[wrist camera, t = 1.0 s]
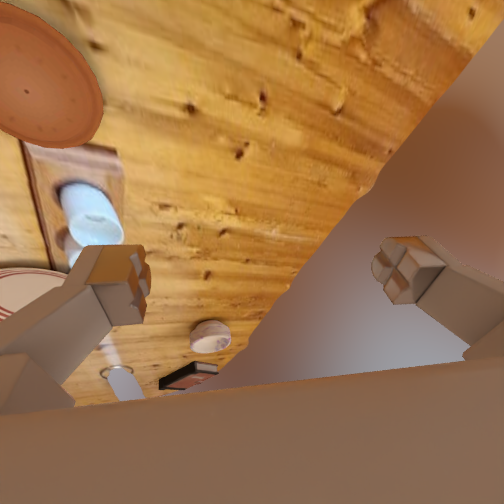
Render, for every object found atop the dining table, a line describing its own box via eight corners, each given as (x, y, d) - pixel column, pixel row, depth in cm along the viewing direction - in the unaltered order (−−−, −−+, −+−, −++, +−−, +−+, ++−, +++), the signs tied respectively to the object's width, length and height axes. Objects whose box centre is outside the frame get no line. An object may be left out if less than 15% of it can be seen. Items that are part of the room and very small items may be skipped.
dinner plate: (-67, 287, 55) (-76, 300, 52) (39, 242, 52) (33, 254, 50) (49, 329, 76) (45, 339, 73) (128, 298, 73) (127, 308, 71)
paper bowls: (189, 318, 89) (190, 339, 84) (230, 314, 94) (234, 334, 89) (188, 336, 100) (189, 356, 95) (225, 332, 105) (228, 350, 100)
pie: (-15, 123, 35) (-33, 139, 32) (-76, -35, 25) (-112, -34, 22) (109, 147, 41) (105, 163, 38) (102, 28, 31) (95, 36, 28)
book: (184, 381, 143) (184, 391, 140) (158, 379, 131) (158, 389, 128) (218, 365, 134) (219, 374, 131) (194, 361, 122) (195, 371, 119)
